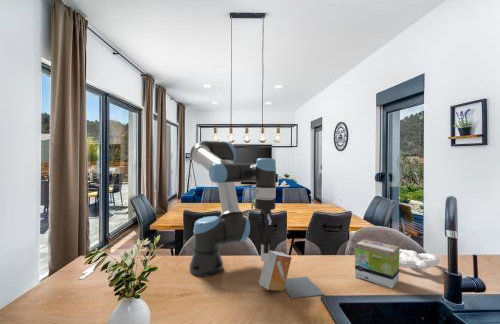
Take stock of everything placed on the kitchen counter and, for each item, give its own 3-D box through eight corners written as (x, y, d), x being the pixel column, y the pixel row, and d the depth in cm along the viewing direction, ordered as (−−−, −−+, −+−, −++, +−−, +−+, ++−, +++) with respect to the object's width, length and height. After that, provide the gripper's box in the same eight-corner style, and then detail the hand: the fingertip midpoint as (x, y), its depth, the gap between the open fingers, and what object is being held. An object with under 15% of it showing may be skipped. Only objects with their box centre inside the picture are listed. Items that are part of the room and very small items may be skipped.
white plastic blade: (70, 280, 108) (70, 277, 108) (92, 266, 123) (92, 264, 123) (82, 280, 108) (82, 277, 108) (103, 266, 123) (103, 263, 123)
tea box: (354, 277, 111) (354, 243, 111) (362, 270, 119) (362, 238, 119) (393, 289, 101) (393, 251, 101) (399, 281, 108) (399, 245, 109)
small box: (268, 290, 95) (276, 254, 97) (258, 283, 100) (266, 249, 102) (284, 291, 99) (292, 257, 101) (273, 284, 104) (281, 251, 106)
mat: (277, 280, 108) (277, 279, 108) (306, 277, 111) (306, 276, 111) (291, 298, 93) (291, 297, 93) (324, 295, 96) (324, 293, 96)
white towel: (364, 263, 131) (362, 250, 132) (391, 256, 143) (390, 244, 144) (423, 277, 107) (421, 260, 108) (450, 267, 119) (448, 253, 120)
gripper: (252, 196, 105) (251, 255, 104) (260, 200, 92) (259, 267, 91) (270, 196, 106) (269, 254, 106) (280, 200, 93) (280, 266, 93)
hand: (264, 260), depth 99 cm, fingers closed
